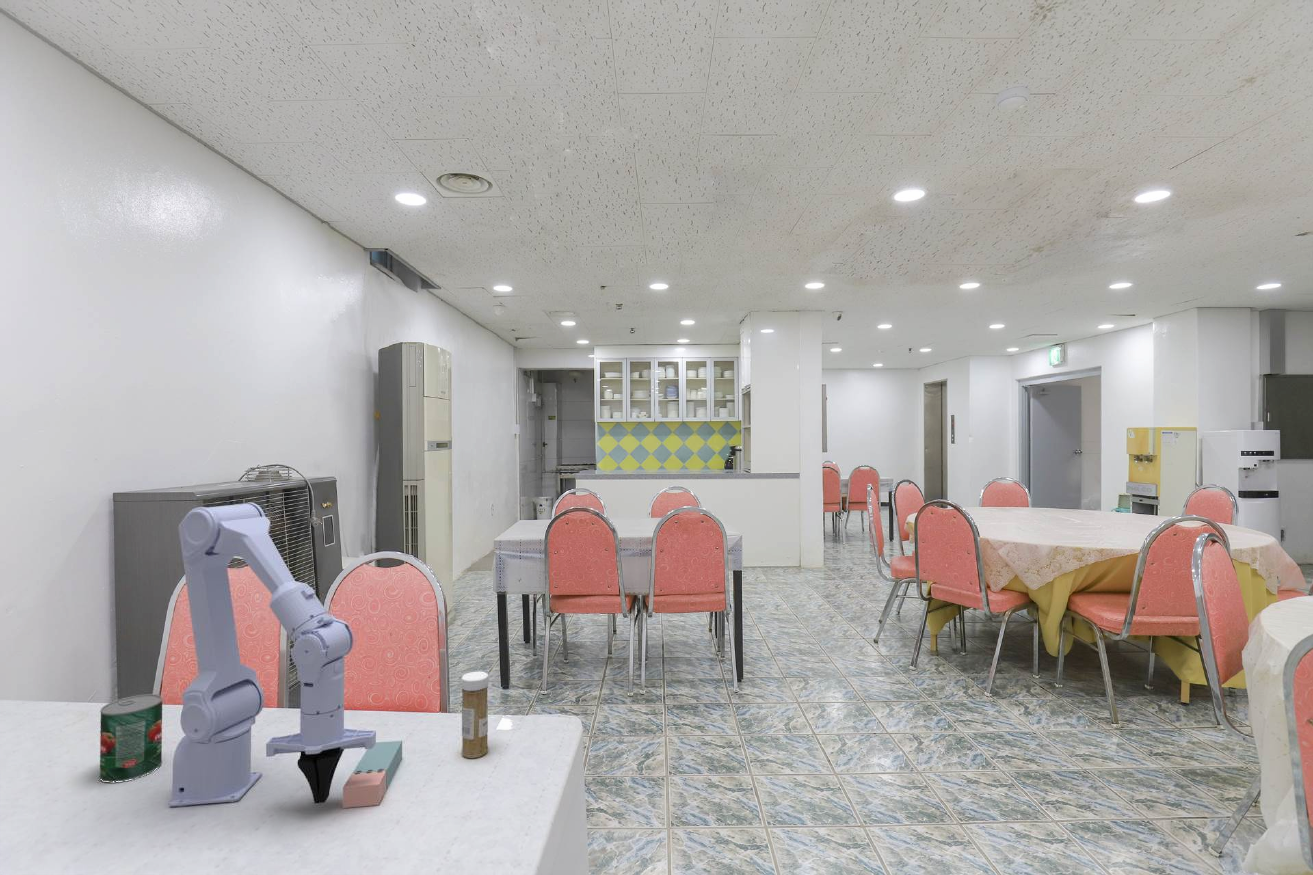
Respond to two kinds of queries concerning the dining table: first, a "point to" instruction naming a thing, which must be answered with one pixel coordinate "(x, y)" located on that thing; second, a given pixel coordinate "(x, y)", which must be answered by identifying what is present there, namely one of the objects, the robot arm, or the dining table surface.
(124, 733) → the canned tomato
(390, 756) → the teal elongated prism
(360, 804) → the stub
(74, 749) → the dining table surface
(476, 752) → the sprinkles bottle
